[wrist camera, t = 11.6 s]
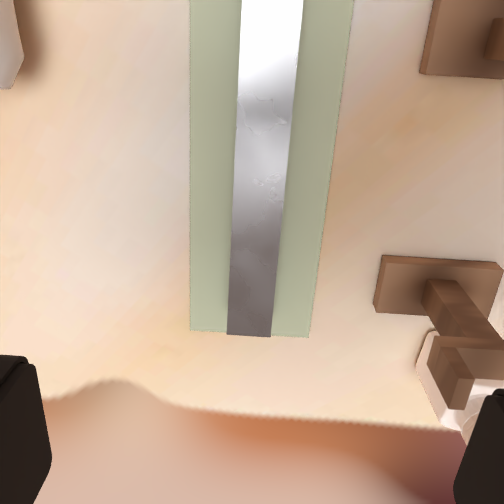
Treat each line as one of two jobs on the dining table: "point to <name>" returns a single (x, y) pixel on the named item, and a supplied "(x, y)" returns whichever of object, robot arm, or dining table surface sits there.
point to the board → (298, 167)
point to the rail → (261, 158)
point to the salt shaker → (445, 416)
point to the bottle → (9, 45)
